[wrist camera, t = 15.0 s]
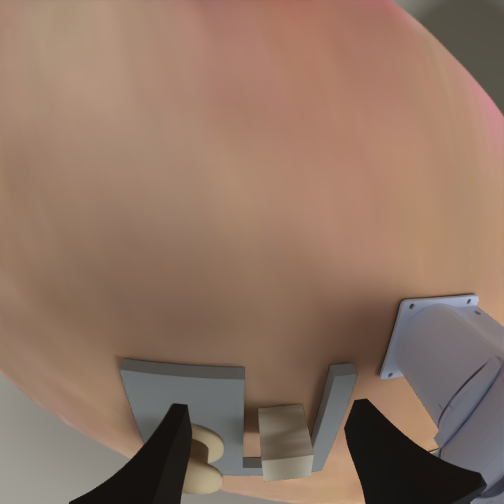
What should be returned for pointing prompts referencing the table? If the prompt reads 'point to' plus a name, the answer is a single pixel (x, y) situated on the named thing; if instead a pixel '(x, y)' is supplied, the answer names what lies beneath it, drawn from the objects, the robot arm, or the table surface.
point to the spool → (203, 462)
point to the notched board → (225, 406)
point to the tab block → (285, 443)
